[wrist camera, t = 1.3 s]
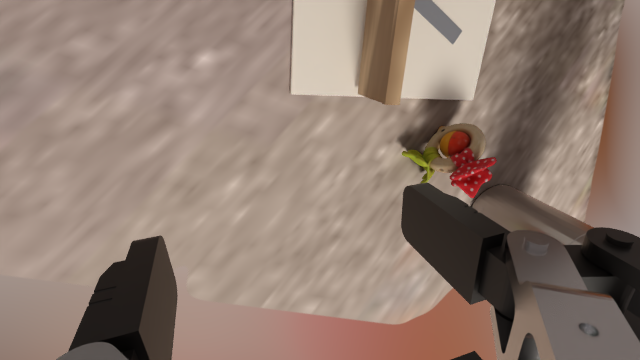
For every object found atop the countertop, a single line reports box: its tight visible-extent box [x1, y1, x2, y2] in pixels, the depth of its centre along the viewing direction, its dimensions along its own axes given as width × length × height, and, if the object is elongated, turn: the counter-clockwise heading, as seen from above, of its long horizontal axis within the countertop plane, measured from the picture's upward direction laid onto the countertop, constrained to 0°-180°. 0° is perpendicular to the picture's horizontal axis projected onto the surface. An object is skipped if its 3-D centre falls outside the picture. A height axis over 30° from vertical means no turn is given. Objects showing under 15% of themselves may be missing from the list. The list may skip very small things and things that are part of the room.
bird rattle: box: [402, 124, 497, 198], centre depth 40 cm, size 6×11×9 cm
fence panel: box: [358, 0, 415, 105], centre depth 32 cm, size 2×13×8 cm, turn 176°
